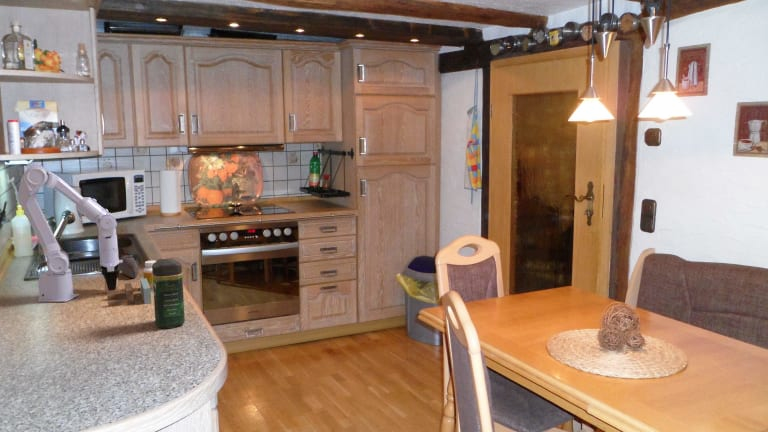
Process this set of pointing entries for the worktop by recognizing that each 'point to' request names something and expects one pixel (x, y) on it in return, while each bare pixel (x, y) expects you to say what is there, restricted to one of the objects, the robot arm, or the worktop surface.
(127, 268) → the perforated stone tool
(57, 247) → the robot arm
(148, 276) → the supplement bottle
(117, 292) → the pink egg shape
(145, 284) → the backstop board
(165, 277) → the coffee jar
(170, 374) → the worktop surface
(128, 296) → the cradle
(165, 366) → the worktop surface
